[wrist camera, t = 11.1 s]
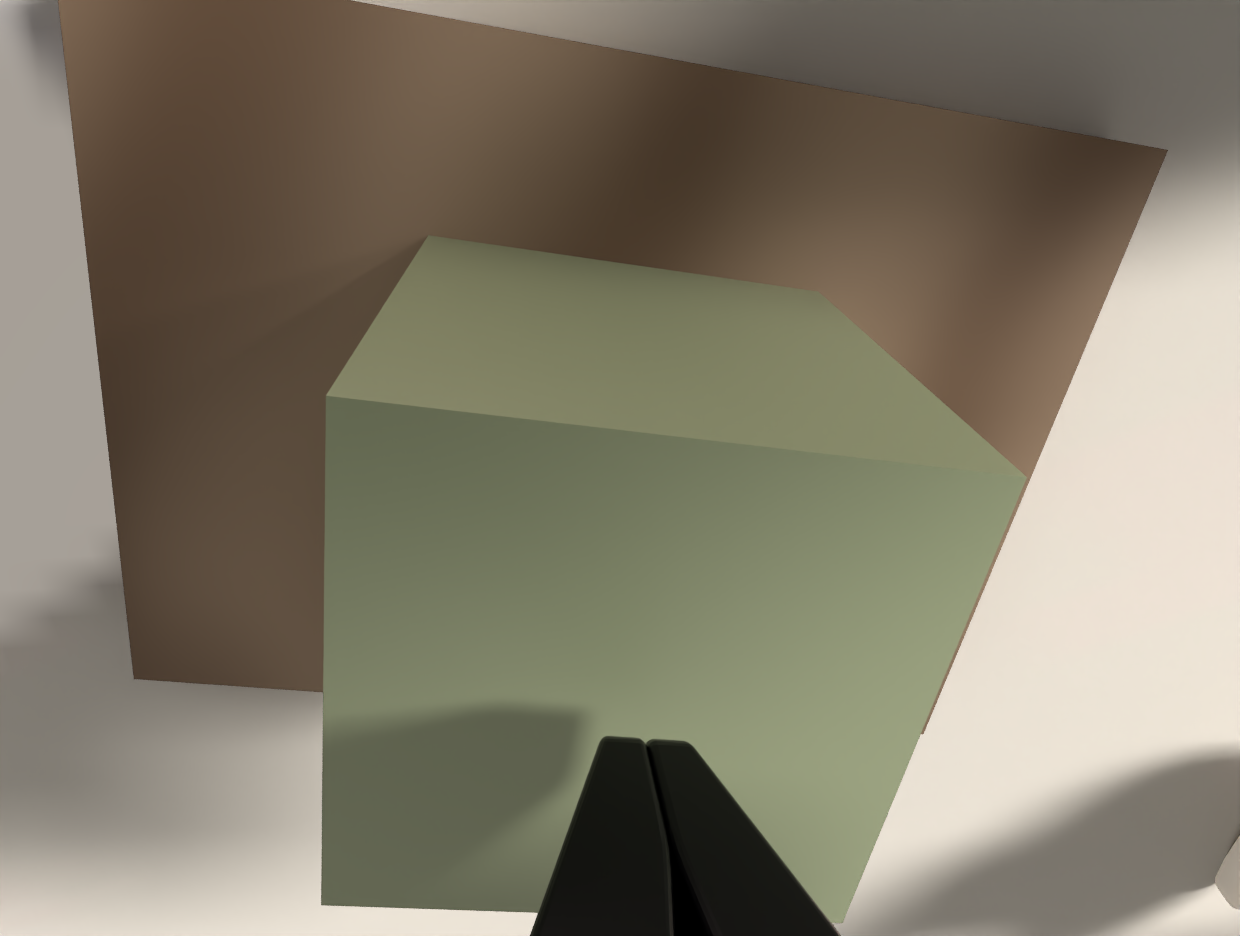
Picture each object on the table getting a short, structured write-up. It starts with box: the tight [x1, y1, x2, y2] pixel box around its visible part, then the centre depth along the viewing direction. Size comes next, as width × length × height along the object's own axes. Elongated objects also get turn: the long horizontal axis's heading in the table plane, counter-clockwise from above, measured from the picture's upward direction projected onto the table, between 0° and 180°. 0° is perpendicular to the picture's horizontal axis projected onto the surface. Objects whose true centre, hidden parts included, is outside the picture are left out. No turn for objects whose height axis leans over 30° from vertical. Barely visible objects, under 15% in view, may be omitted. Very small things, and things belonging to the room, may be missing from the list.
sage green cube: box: [321, 235, 1027, 923], centre depth 12 cm, size 6×6×7 cm
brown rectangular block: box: [58, 0, 1168, 734], centre depth 13 cm, size 16×12×7 cm
